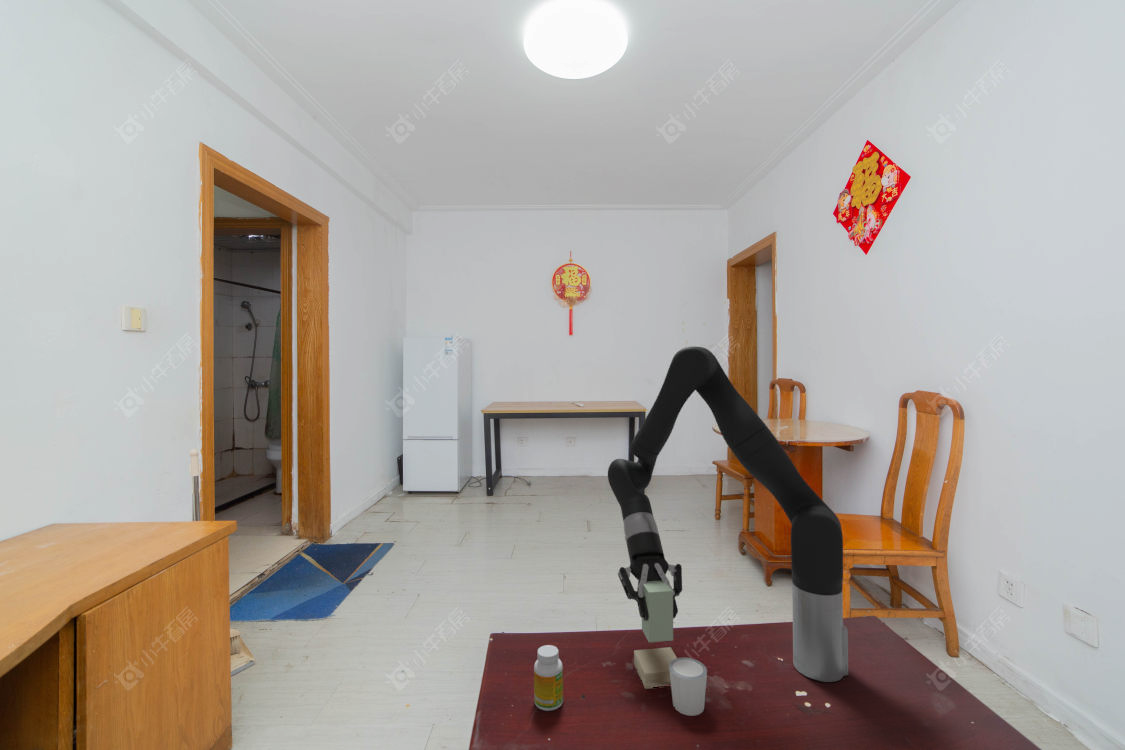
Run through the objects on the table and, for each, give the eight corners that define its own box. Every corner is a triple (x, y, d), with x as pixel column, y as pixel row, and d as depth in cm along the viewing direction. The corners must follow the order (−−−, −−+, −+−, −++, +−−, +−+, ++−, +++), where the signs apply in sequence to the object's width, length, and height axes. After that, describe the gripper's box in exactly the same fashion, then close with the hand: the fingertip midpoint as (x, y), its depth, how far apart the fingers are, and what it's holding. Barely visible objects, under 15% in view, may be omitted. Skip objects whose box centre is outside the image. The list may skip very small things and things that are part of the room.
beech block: (670, 661, 104) (670, 647, 104) (684, 685, 96) (684, 669, 96) (634, 664, 103) (633, 650, 103) (645, 688, 95) (645, 673, 95)
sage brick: (664, 627, 103) (664, 580, 102) (673, 640, 98) (672, 590, 97) (641, 629, 102) (641, 581, 102) (648, 642, 97) (648, 592, 97)
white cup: (686, 723, 86) (686, 683, 86) (661, 700, 92) (661, 663, 92) (715, 710, 89) (715, 671, 89) (689, 688, 95) (689, 653, 95)
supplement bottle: (559, 713, 89) (559, 660, 89) (531, 710, 90) (530, 657, 90) (565, 694, 94) (564, 644, 94) (538, 691, 95) (537, 641, 95)
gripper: (613, 531, 106) (628, 614, 94) (677, 528, 108) (699, 609, 96) (608, 547, 111) (622, 627, 100) (669, 544, 113) (689, 622, 101)
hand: (660, 617), depth 98 cm, fingers closed on sage brick, 5 cm apart
